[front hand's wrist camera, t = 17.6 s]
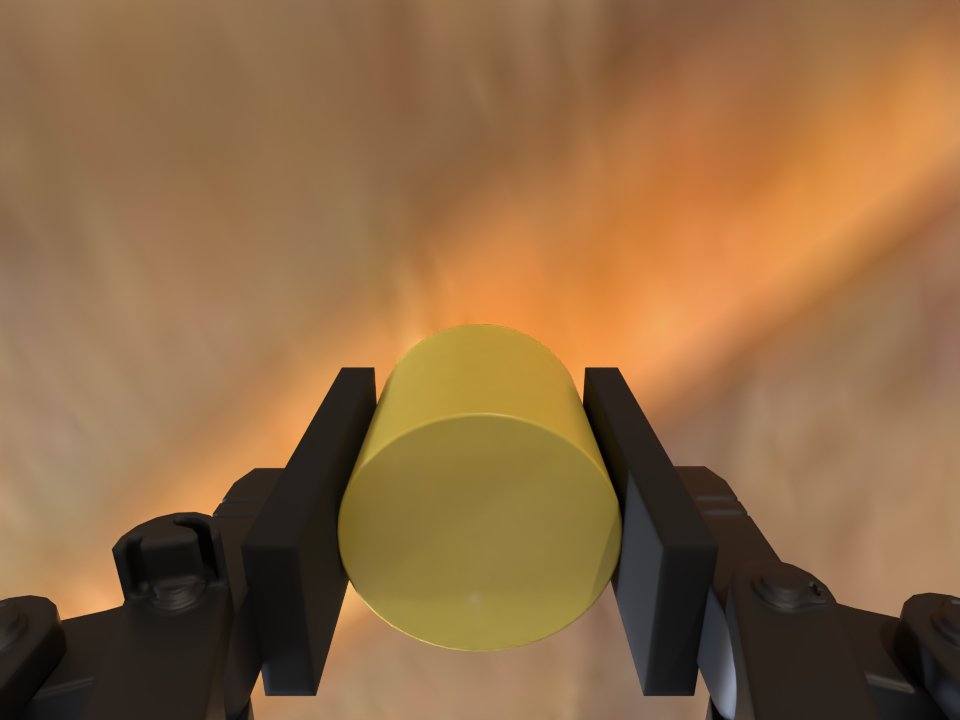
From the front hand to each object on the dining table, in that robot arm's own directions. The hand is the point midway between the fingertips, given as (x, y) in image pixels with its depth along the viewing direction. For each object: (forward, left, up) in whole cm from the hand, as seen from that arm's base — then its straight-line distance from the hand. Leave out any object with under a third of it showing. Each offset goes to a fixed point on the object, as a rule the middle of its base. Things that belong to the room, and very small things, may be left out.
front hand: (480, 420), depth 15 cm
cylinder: (0, 0, 0) cm, 0 cm away
